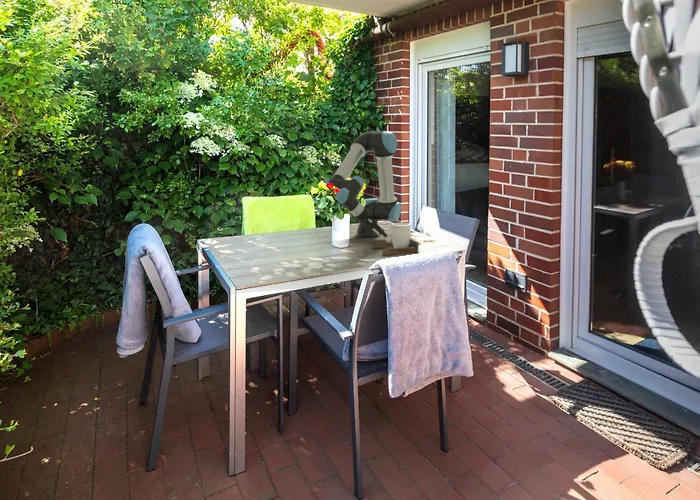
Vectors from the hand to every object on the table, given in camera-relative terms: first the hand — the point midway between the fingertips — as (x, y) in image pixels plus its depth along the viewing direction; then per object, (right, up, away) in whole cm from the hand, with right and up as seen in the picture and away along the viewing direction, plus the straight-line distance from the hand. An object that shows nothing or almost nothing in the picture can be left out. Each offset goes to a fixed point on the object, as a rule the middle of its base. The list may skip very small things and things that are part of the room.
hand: (385, 237), depth 285 cm
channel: (+6, -7, +3) cm, 10 cm away
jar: (+9, -7, +4) cm, 12 cm away
